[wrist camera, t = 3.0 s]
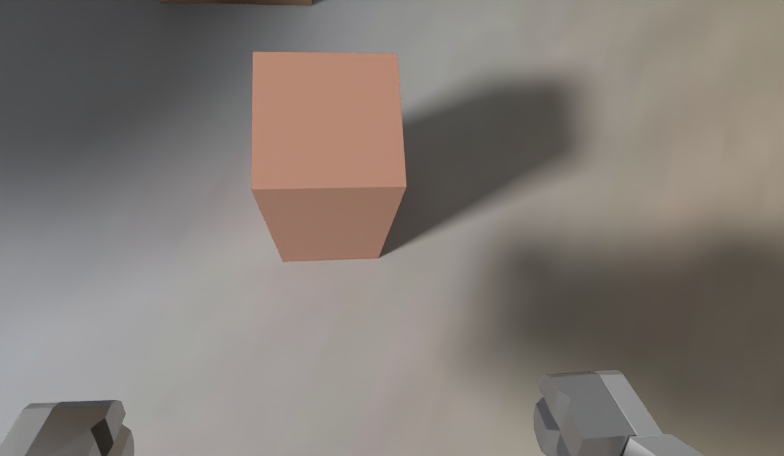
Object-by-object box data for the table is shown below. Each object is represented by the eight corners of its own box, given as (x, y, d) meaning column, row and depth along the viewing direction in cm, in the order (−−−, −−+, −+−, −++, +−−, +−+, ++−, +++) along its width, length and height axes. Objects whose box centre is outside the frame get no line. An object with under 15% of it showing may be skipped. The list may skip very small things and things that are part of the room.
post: (282, 261, 22) (251, 189, 14) (282, 171, 23) (253, 51, 15) (378, 258, 23) (406, 186, 14) (373, 170, 24) (397, 53, 15)
